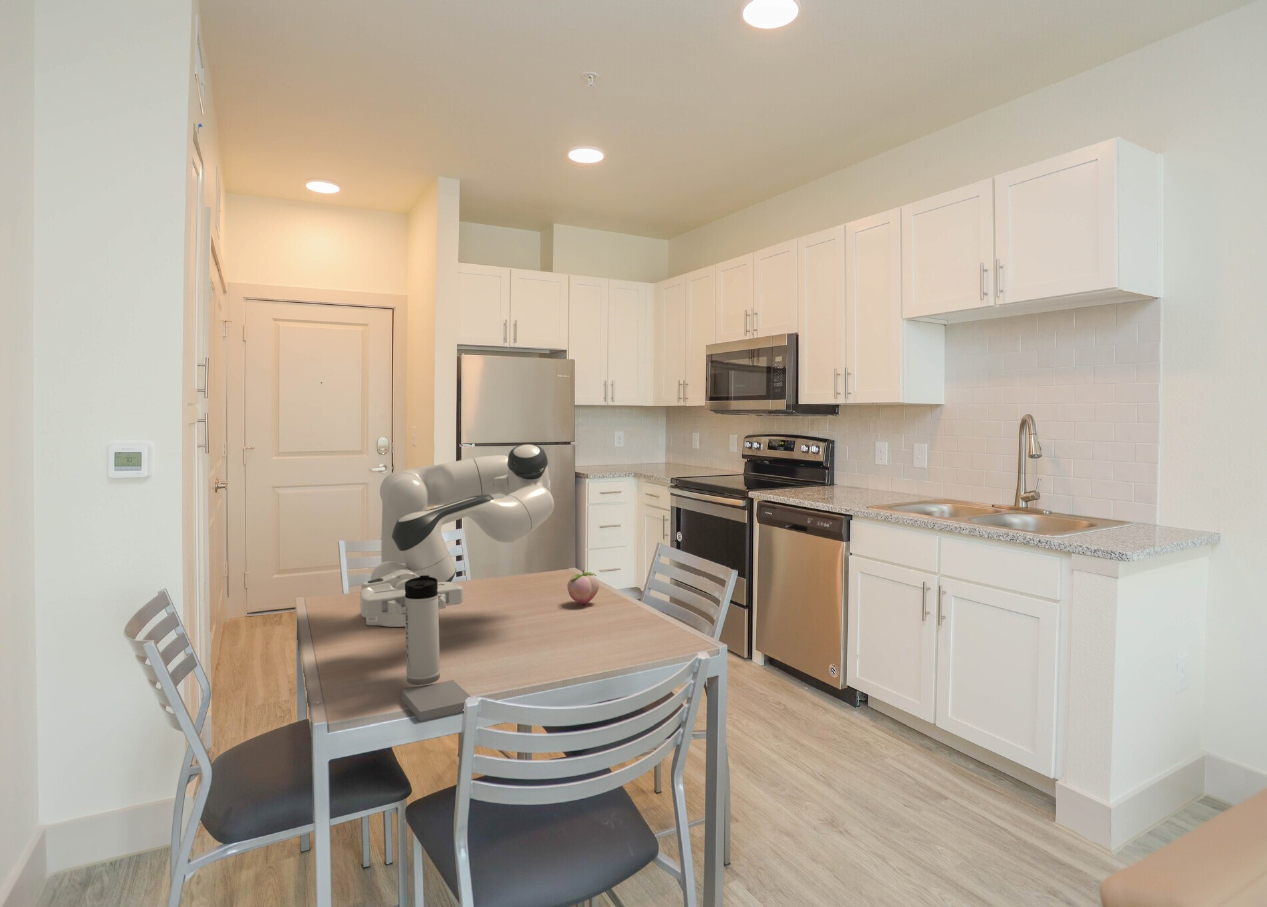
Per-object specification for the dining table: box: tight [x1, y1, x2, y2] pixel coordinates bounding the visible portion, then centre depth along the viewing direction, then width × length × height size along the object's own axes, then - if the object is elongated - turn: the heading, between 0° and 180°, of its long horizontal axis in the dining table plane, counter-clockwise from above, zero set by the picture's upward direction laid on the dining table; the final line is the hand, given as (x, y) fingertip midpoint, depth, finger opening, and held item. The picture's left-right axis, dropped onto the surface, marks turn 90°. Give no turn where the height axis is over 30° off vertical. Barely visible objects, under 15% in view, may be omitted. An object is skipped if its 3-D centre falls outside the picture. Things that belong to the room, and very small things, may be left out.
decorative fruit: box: [567, 569, 600, 605], centre depth 207 cm, size 9×8×10 cm
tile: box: [401, 679, 472, 723], centre depth 134 cm, size 2×10×12 cm
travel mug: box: [404, 575, 441, 686], centre depth 141 cm, size 6×7×20 cm
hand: (422, 607), depth 140 cm, fingers closed on travel mug, 6 cm apart
